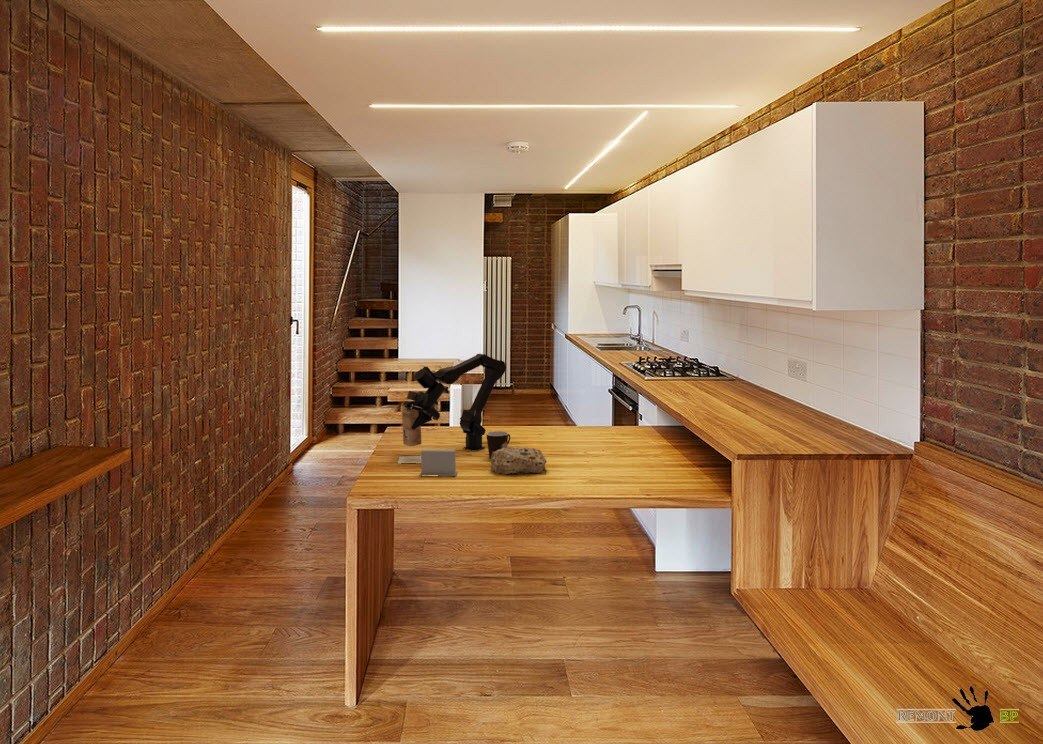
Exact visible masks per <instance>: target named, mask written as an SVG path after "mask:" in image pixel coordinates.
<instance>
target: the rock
mask: <svg viewBox="0 0 1043 744" xmlns="http://www.w3.org/2000/svg"><path fill="white" fill-rule="evenodd" d="M546 463H547V459H546V457H545V455H544V454H543V452H542V451H541V450H540V449H538V448H537V449H536V448H533V447H531V448H530V447H522V446H515V447H513V446H507V448H502V449H499V450H497V451H495V452H493V454H492V456H491V460H490V470H491V471H492V472H494V471H495V472H496V473H495V472H494V473H495V474H502V473H504V474H503V475H511V474H510V473H512V474H514V473H515V474H516V475H520V474H529V473H533V474H536V473H537V474H538V473H539V474H540V473H542V472H543V470H544V469H545V465H546Z"/></svg>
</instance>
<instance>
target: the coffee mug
mask: <svg viewBox="0 0 1043 744" xmlns="http://www.w3.org/2000/svg"><path fill="white" fill-rule="evenodd" d="M485 433H486V434H485V435H486V442H487V448H488V449H487V451H488V457H489V460H490V459H491V456H492V454H493V452H495V451H497V450H499V449H502V448H507V447H508V445H509V443H510V441H511V434H509V432H507V431H503V430H502V431H501V430H495V431H488V432H485Z"/></svg>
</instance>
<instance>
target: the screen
mask: <svg viewBox="0 0 1043 744" xmlns="http://www.w3.org/2000/svg"><path fill="white" fill-rule="evenodd" d="M420 456H421V463H420V464H421V472H420V473H419V476H420V475H438V476H456V477H457V475H458V474H457V473H458V471H457V469H456V449H421V451H420ZM456 474H457V475H456Z"/></svg>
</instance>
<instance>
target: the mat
mask: <svg viewBox="0 0 1043 744" xmlns="http://www.w3.org/2000/svg"><path fill="white" fill-rule="evenodd" d="M418 462H421V455H409V456H408V455H407V456H404V455H403V456H399V457H398V461H397V464H398V465H402V464H401V463H416V464H419V463H418Z"/></svg>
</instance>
